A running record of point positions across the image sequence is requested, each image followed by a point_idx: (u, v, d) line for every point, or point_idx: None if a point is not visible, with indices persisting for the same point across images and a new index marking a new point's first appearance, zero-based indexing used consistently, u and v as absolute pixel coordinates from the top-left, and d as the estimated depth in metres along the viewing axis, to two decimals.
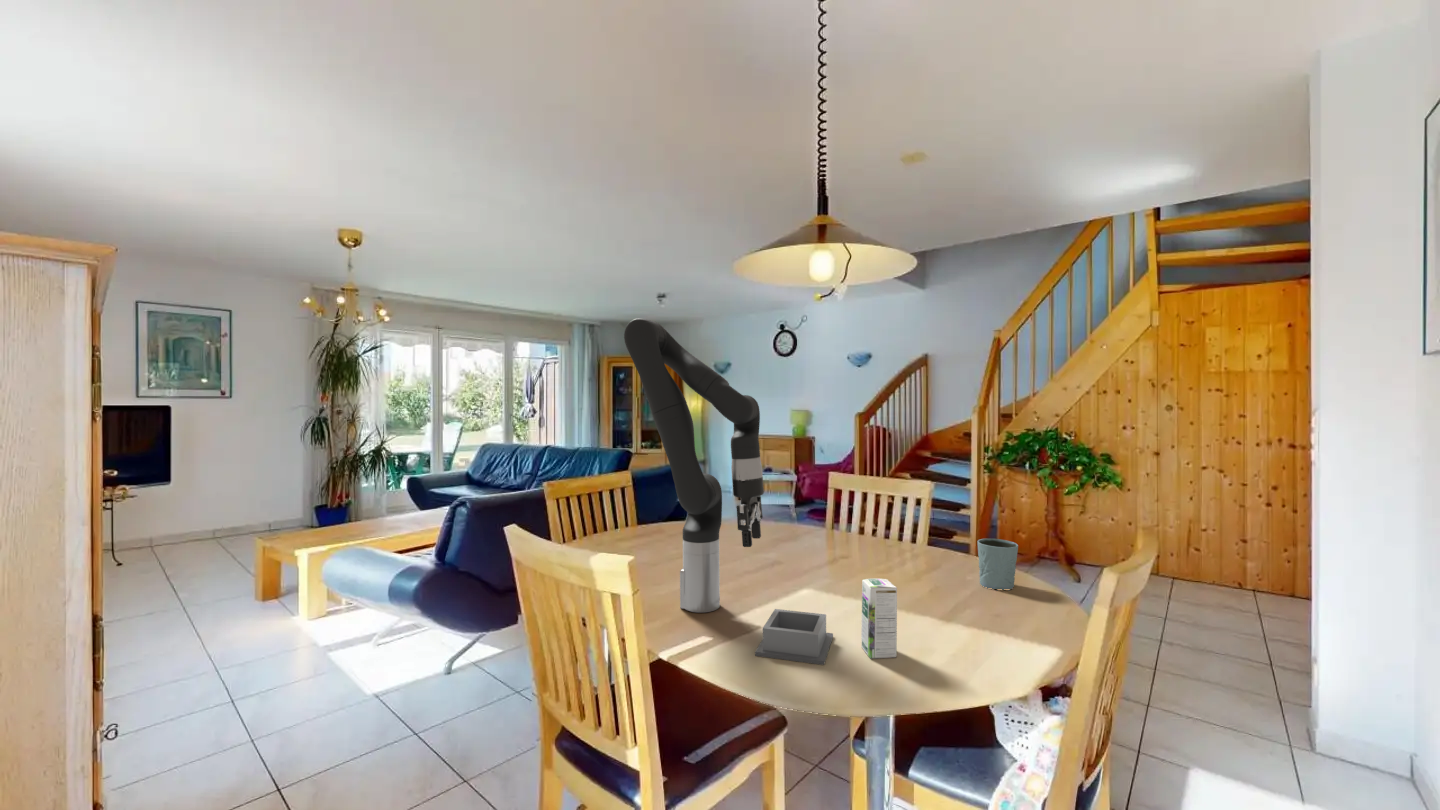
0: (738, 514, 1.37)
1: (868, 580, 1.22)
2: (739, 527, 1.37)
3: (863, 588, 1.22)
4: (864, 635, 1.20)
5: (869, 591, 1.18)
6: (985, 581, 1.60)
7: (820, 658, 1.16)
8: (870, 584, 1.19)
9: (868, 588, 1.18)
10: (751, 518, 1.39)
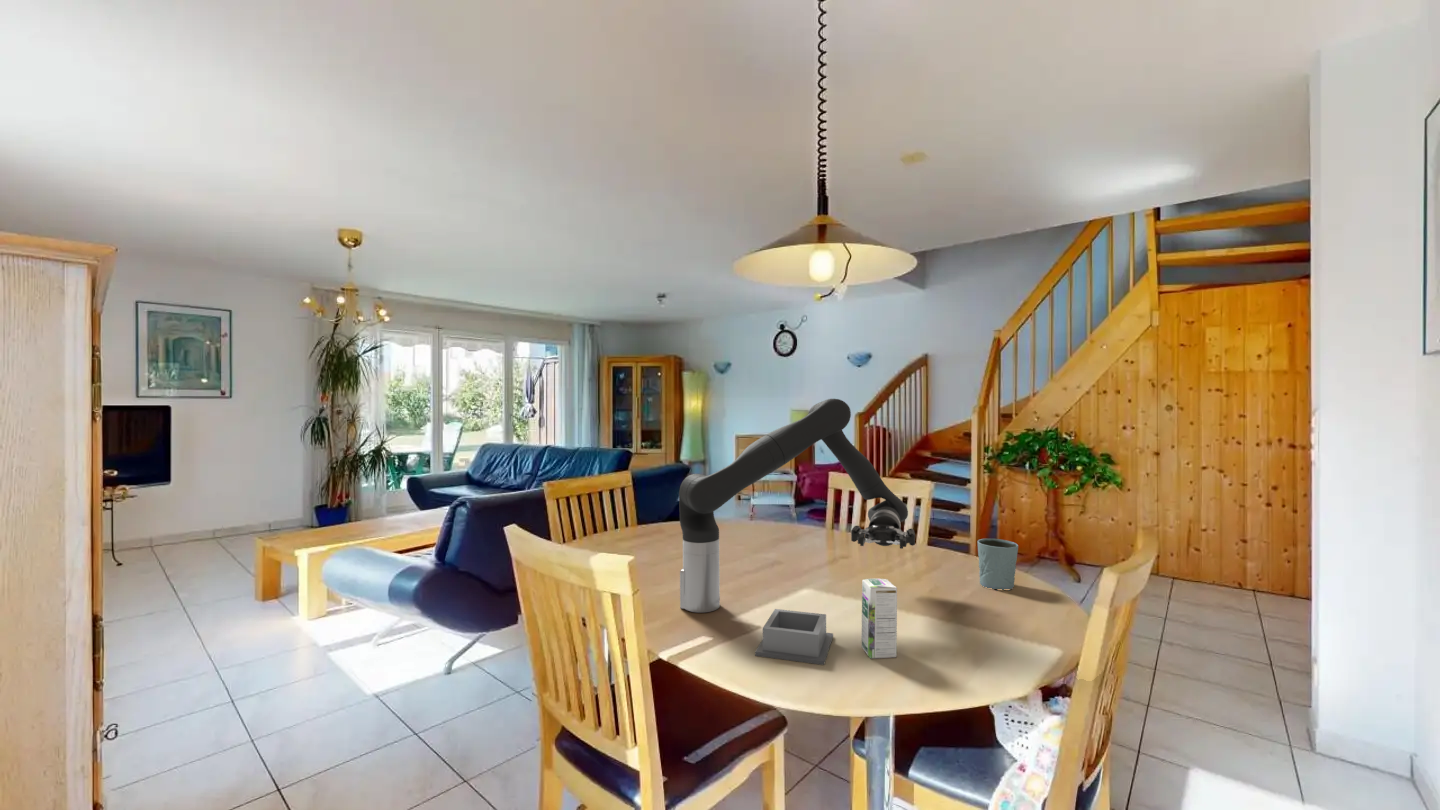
0: None
1: (868, 580, 1.22)
2: (914, 535, 1.33)
3: (863, 588, 1.22)
4: (864, 635, 1.20)
5: (869, 591, 1.18)
6: (985, 581, 1.60)
7: (820, 658, 1.16)
8: (870, 584, 1.19)
9: (868, 588, 1.18)
10: None
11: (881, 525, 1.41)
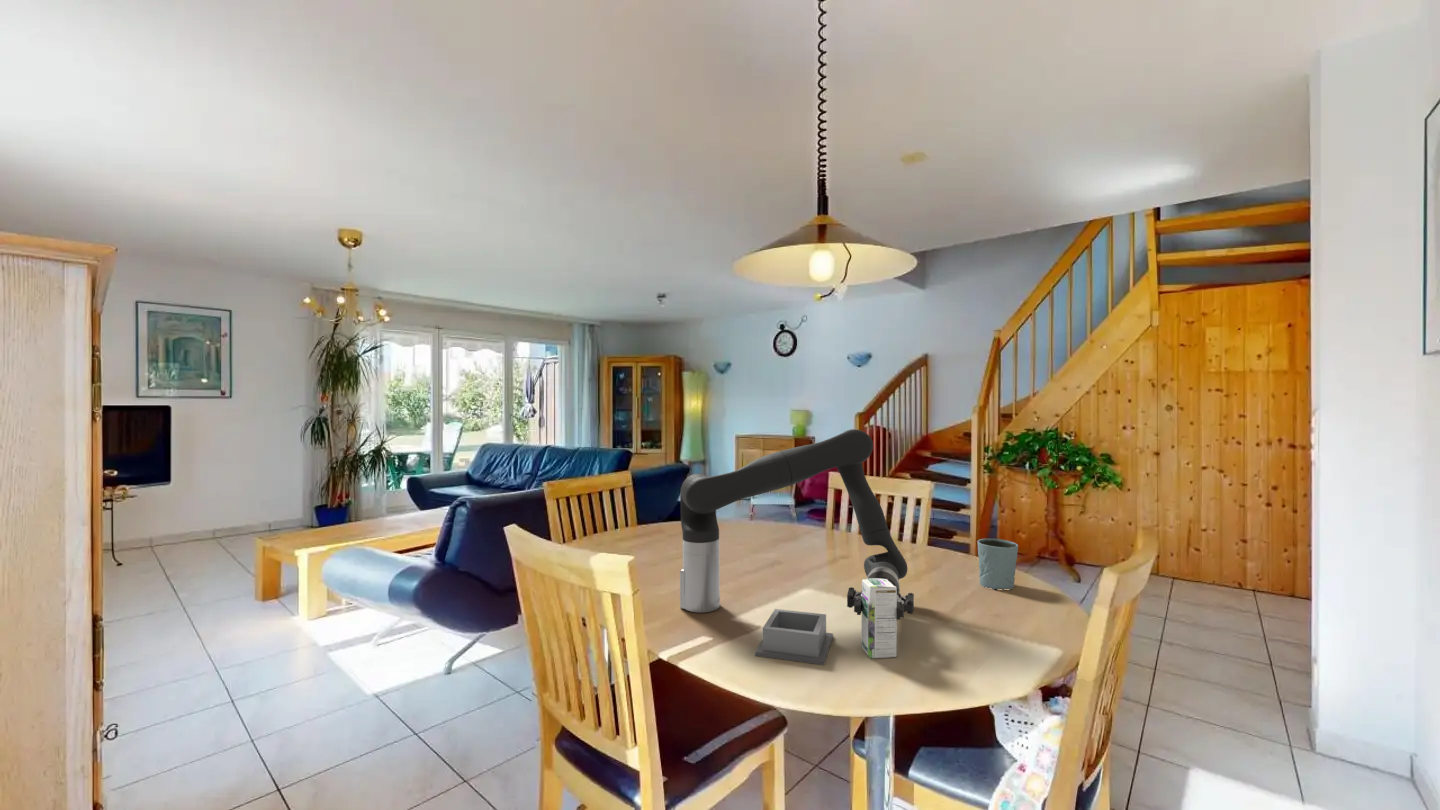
0: (913, 598, 1.24)
1: (868, 580, 1.22)
2: (913, 603, 1.21)
3: (863, 588, 1.22)
4: (864, 635, 1.20)
5: (868, 591, 1.18)
6: (985, 581, 1.60)
7: (820, 658, 1.16)
8: (870, 584, 1.19)
9: (868, 588, 1.18)
10: None
11: None
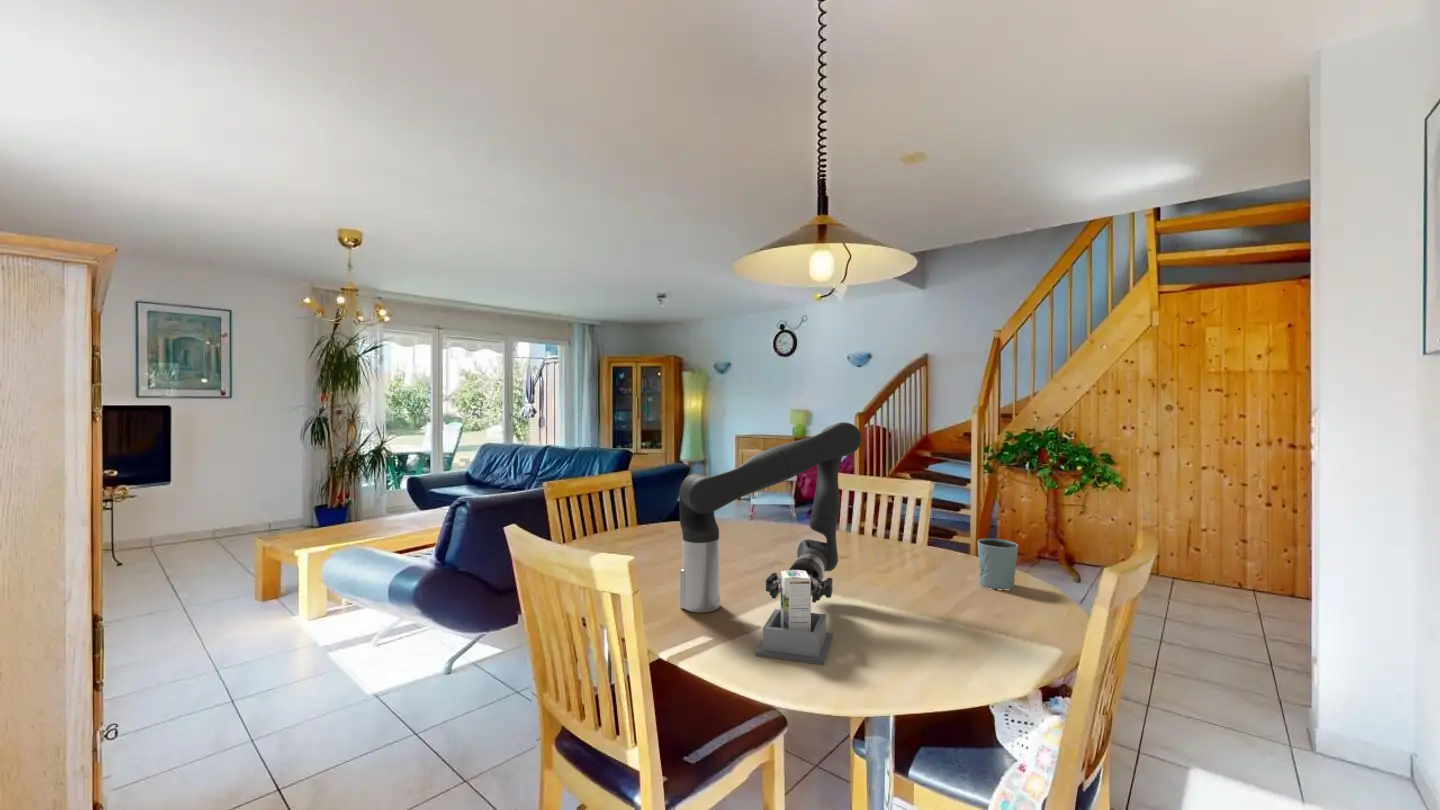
0: (832, 582, 1.27)
1: (786, 571, 1.25)
2: (830, 587, 1.24)
3: (781, 579, 1.25)
4: (781, 625, 1.24)
5: (783, 582, 1.22)
6: (985, 581, 1.60)
7: (820, 658, 1.16)
8: (786, 575, 1.23)
9: (783, 579, 1.22)
10: None
11: None
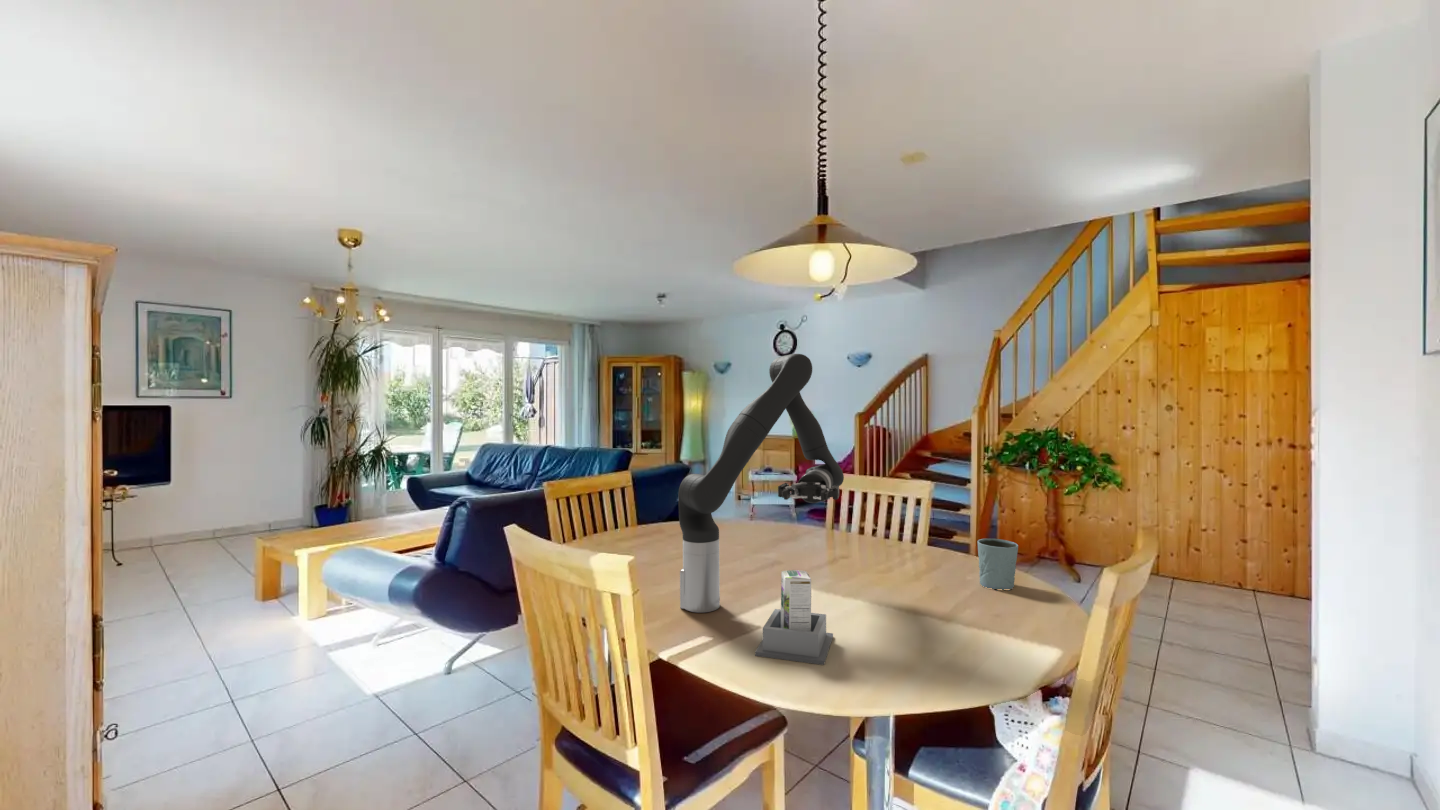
0: (838, 488, 1.39)
1: (786, 571, 1.25)
2: (837, 490, 1.37)
3: (781, 579, 1.25)
4: (781, 625, 1.24)
5: (784, 582, 1.22)
6: (985, 581, 1.60)
7: (820, 658, 1.16)
8: (787, 575, 1.23)
9: (784, 579, 1.22)
10: None
11: (809, 482, 1.45)
